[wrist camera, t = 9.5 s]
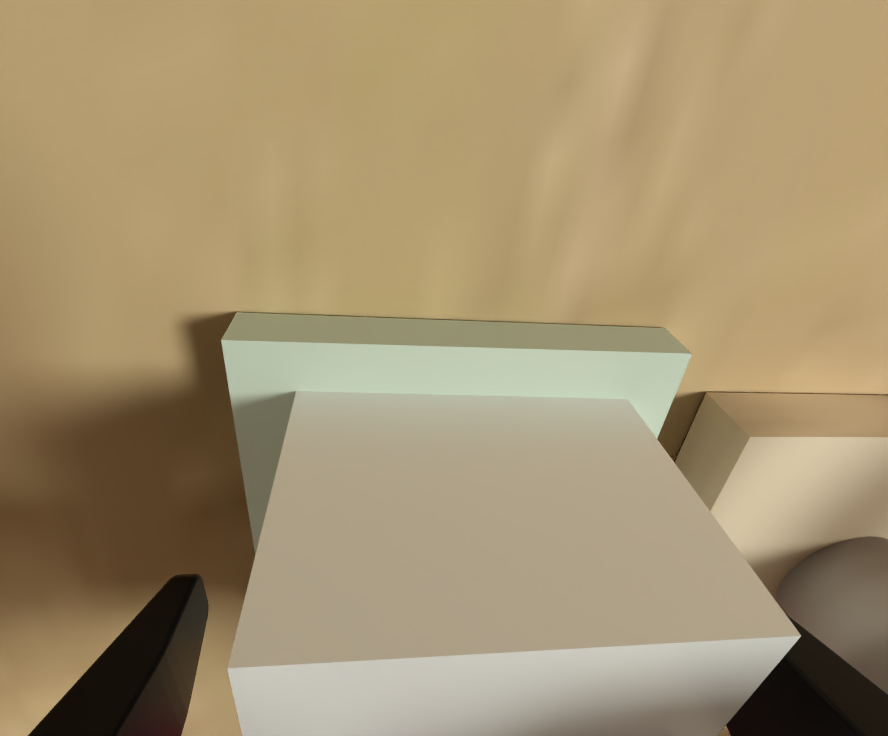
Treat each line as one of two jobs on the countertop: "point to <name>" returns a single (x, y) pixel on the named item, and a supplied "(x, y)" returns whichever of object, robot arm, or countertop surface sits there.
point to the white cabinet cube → (493, 577)
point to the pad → (428, 370)
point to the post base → (804, 507)
